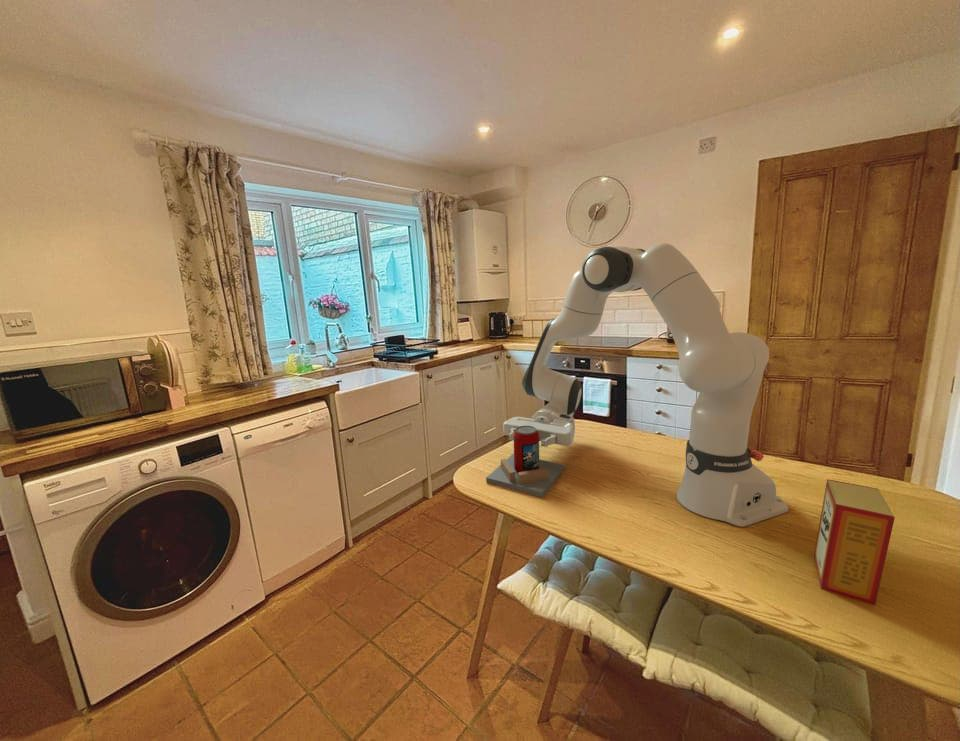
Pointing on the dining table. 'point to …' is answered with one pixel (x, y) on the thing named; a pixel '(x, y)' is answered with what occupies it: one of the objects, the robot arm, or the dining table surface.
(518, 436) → the beverage can
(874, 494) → the baking soda box
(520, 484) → the v stop plate
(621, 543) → the dining table surface
